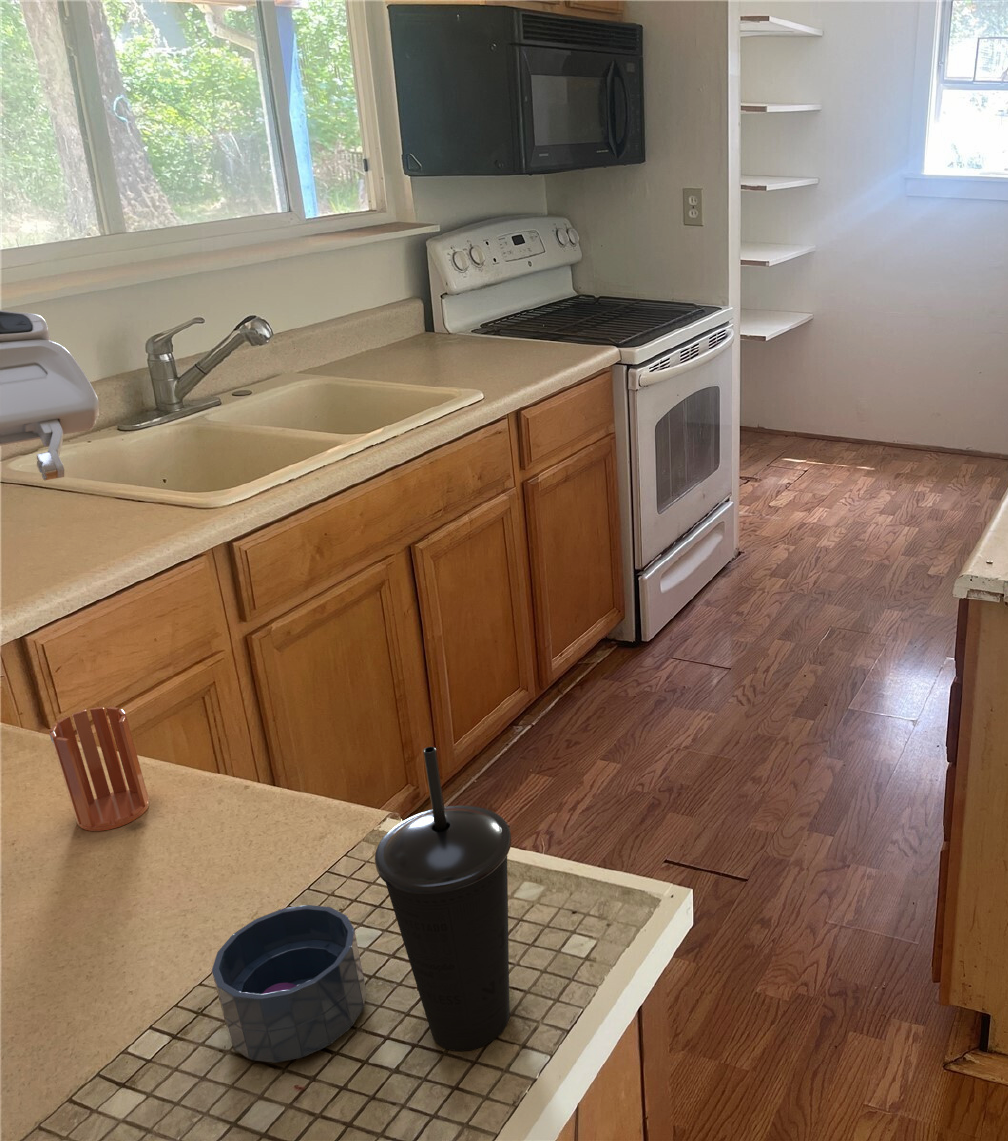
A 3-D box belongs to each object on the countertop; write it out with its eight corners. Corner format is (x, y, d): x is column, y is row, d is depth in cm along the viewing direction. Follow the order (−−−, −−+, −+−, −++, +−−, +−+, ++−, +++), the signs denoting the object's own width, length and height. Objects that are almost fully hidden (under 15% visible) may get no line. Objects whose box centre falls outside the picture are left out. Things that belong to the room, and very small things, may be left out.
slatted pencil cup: (69, 812, 88) (41, 723, 85) (137, 786, 92) (113, 700, 88) (87, 839, 85) (60, 747, 82) (158, 811, 88) (133, 722, 85)
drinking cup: (401, 1081, 63) (347, 797, 55) (412, 987, 70) (366, 723, 62) (533, 1059, 65) (498, 779, 57) (531, 968, 71) (500, 708, 64)
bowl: (218, 1080, 63) (199, 1009, 61) (244, 983, 70) (227, 917, 68) (360, 1053, 65) (346, 983, 63) (371, 961, 72) (359, 896, 70)
